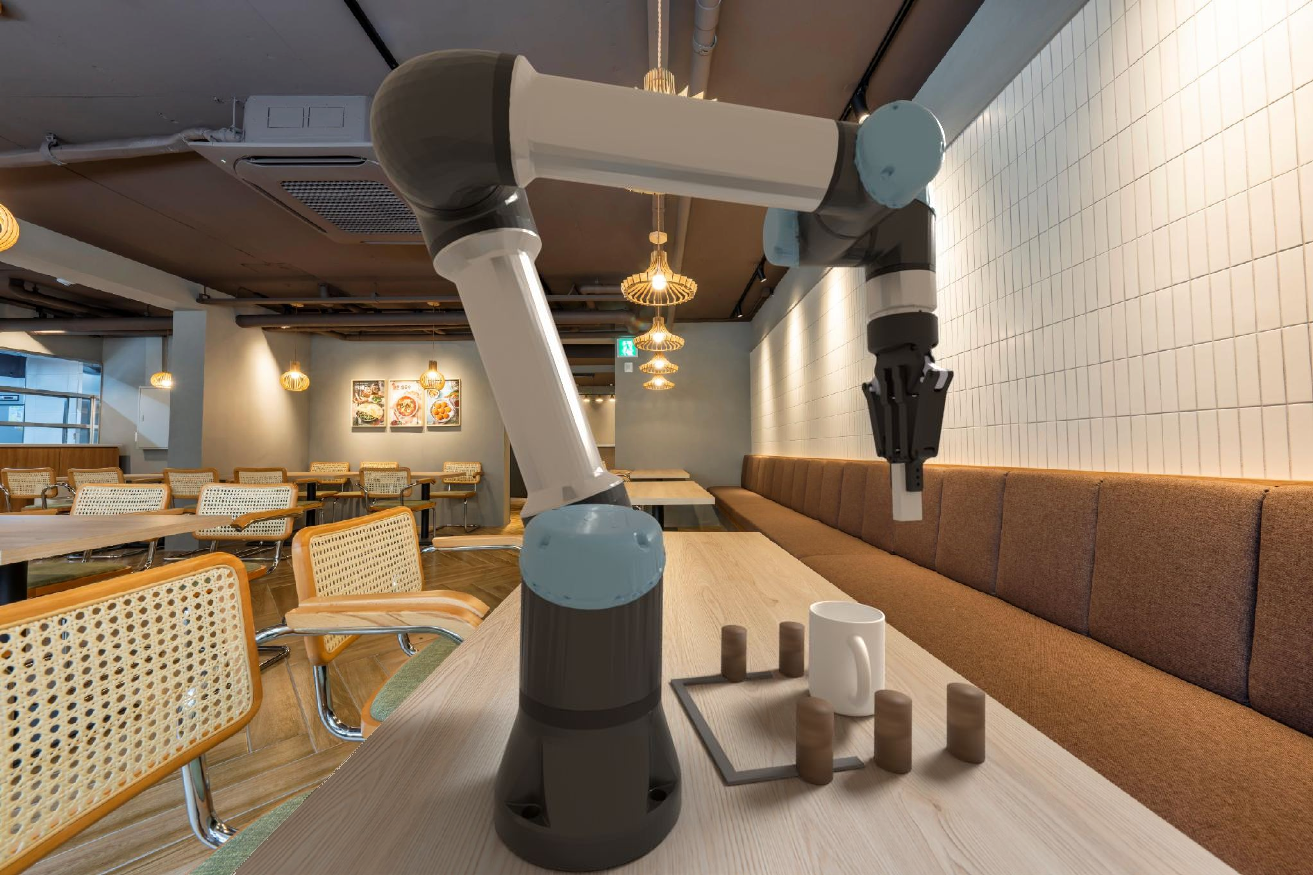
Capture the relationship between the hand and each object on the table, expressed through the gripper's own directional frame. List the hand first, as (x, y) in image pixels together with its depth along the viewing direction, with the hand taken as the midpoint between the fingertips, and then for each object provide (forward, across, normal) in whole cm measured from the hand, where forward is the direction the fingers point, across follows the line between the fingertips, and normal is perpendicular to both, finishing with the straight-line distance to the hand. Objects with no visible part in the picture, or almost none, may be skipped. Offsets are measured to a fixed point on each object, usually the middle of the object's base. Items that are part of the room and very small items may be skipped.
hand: (907, 519), depth 60 cm
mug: (+21, 0, +8) cm, 23 cm away
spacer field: (+21, 0, +10) cm, 23 cm away
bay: (+20, 0, +19) cm, 28 cm away
